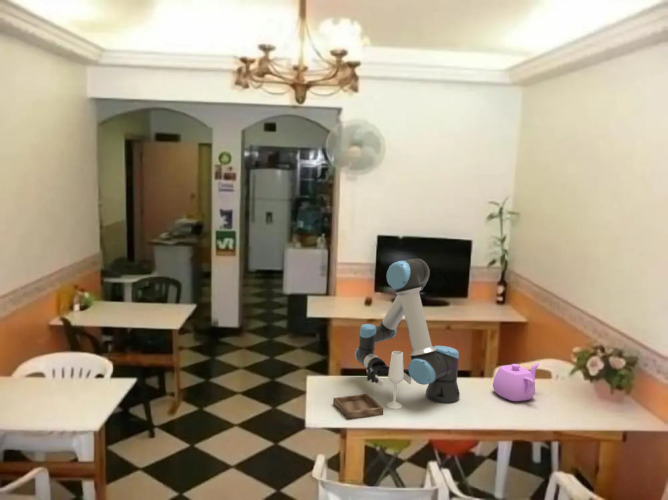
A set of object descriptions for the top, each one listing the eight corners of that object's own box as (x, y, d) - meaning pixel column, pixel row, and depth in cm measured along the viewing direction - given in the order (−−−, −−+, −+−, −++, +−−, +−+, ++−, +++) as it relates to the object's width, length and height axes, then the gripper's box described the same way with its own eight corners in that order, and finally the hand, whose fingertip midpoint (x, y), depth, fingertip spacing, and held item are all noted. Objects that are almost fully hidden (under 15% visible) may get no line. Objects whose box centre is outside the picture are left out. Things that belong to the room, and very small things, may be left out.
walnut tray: (366, 400, 271) (366, 393, 271) (383, 414, 257) (383, 408, 256) (333, 404, 265) (333, 397, 264) (348, 419, 250) (348, 413, 250)
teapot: (517, 409, 268) (520, 376, 266) (486, 391, 287) (489, 360, 285) (556, 402, 278) (559, 370, 275) (524, 385, 297) (527, 355, 294)
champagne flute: (385, 407, 264) (388, 354, 260) (387, 401, 270) (390, 349, 267) (401, 409, 263) (404, 355, 259) (402, 403, 269) (405, 350, 265)
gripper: (398, 370, 287) (421, 388, 268) (349, 374, 278) (369, 393, 259) (399, 354, 286) (422, 371, 267) (350, 359, 276) (371, 377, 257)
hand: (396, 382), depth 263 cm, fingers open, 13 cm apart
